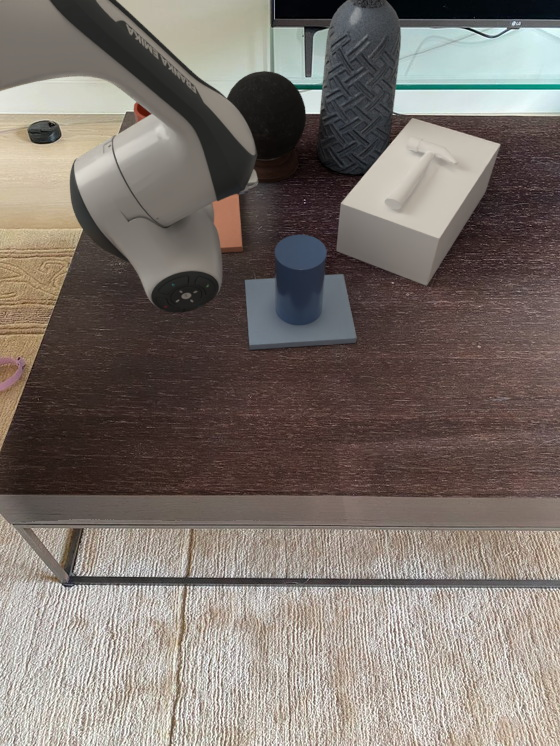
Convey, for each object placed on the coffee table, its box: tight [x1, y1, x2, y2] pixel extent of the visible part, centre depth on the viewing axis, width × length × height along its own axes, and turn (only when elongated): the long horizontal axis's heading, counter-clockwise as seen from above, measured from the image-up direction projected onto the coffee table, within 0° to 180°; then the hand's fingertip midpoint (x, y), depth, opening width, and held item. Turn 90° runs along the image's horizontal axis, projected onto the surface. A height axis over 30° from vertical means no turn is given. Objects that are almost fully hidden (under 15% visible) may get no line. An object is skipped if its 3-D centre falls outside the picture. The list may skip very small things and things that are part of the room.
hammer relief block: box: [335, 117, 501, 287], centre depth 92 cm, size 14×25×11 cm, turn 150°
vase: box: [316, 0, 402, 175], centre depth 96 cm, size 12×12×28 cm
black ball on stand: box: [226, 70, 307, 184], centre depth 100 cm, size 13×13×15 cm
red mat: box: [212, 194, 244, 254], centre depth 96 cm, size 18×14×1 cm
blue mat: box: [244, 273, 358, 351], centre depth 84 cm, size 14×12×1 cm
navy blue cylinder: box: [274, 234, 328, 325], centre depth 80 cm, size 6×6×10 cm
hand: (164, 135), depth 81 cm, fingers closed on terracotta cup, 6 cm apart
